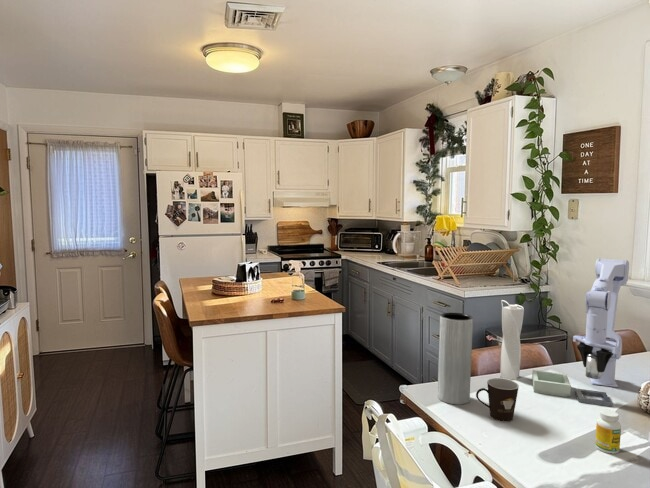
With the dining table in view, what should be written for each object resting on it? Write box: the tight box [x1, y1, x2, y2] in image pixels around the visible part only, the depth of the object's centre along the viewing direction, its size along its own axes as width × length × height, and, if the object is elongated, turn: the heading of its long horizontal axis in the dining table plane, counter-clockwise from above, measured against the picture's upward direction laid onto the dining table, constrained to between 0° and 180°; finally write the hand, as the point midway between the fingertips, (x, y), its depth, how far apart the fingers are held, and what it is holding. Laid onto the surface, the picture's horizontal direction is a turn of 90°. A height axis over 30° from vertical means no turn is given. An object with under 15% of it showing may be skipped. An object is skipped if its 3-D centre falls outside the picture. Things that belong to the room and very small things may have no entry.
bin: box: [531, 369, 572, 398], centre depth 157 cm, size 11×11×4 cm
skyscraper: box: [499, 299, 525, 381], centre depth 167 cm, size 8×8×28 cm
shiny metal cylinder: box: [585, 352, 602, 379], centre depth 148 cm, size 4×4×7 cm
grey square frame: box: [574, 387, 612, 408], centre depth 149 cm, size 9×9×1 cm
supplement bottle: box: [594, 409, 622, 455], centre depth 118 cm, size 5×5×10 cm
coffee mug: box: [475, 377, 520, 423], centre depth 136 cm, size 12×9×10 cm
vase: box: [437, 312, 474, 405], centre depth 147 cm, size 10×10×27 cm
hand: (593, 369), depth 149 cm, fingers closed on shiny metal cylinder, 4 cm apart
